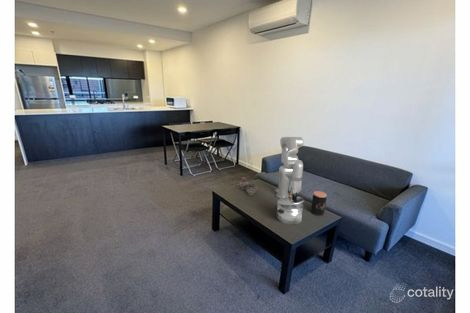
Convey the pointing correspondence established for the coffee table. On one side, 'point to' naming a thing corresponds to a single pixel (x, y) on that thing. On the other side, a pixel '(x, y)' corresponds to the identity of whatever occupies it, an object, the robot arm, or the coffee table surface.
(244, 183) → the pottery
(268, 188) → the coffee table surface
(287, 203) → the cooker lid
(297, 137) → the robot arm
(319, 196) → the coffee jar
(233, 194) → the coffee table surface
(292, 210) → the cooker pot
